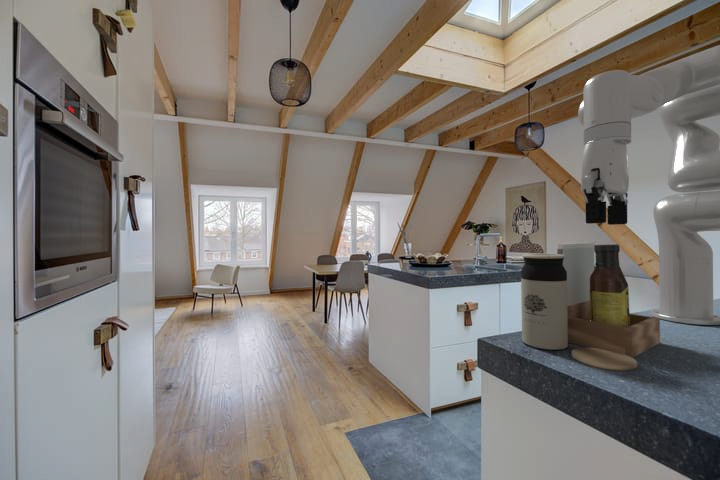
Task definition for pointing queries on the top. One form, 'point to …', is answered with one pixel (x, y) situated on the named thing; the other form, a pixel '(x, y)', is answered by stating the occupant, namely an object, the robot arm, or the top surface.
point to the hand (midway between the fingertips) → (607, 223)
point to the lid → (577, 270)
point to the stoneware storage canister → (544, 301)
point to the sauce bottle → (609, 288)
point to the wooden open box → (612, 332)
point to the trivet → (604, 359)
